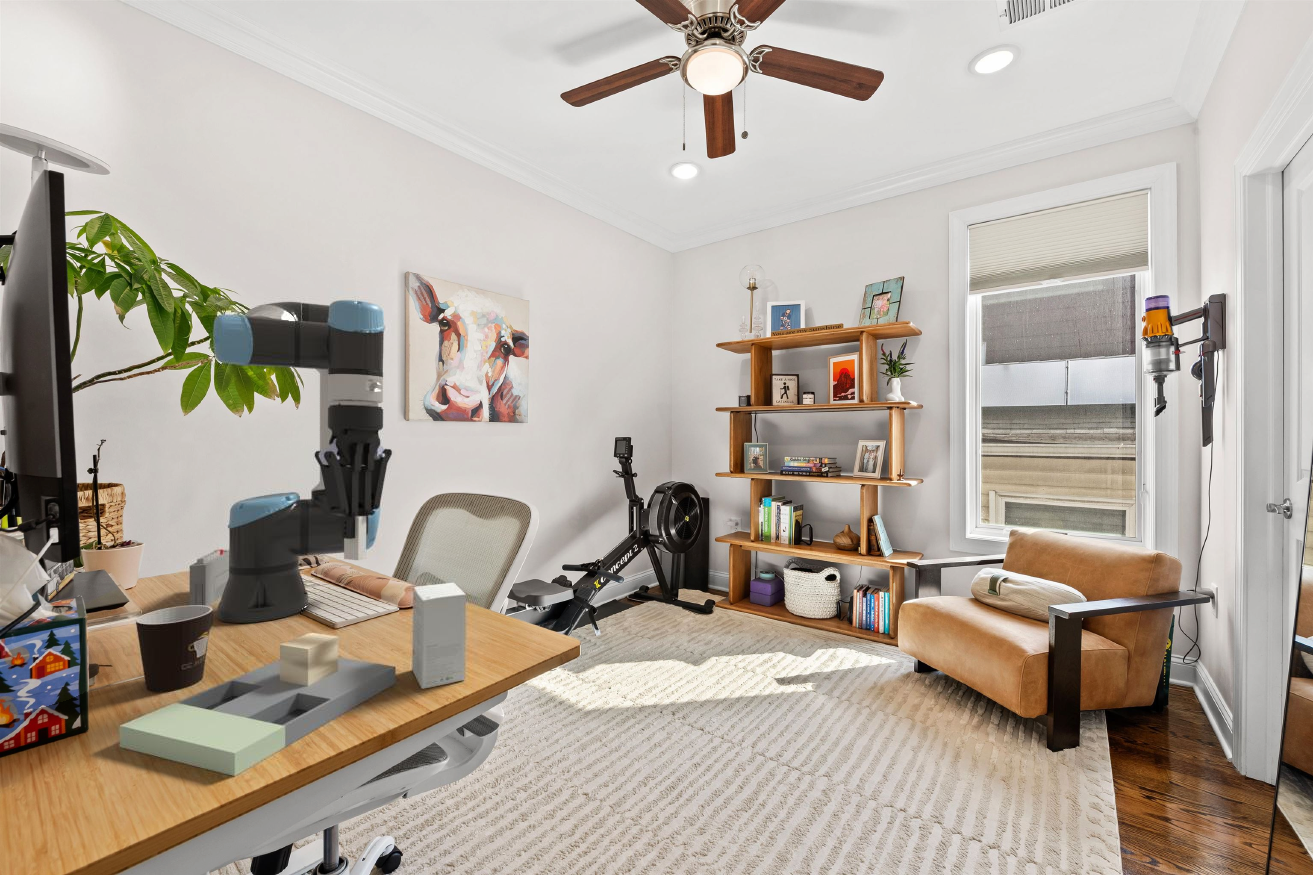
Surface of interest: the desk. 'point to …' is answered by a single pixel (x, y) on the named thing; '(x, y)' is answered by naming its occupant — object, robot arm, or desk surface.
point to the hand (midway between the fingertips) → (355, 558)
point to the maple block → (308, 658)
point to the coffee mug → (174, 646)
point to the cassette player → (209, 578)
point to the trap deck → (252, 716)
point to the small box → (439, 634)
